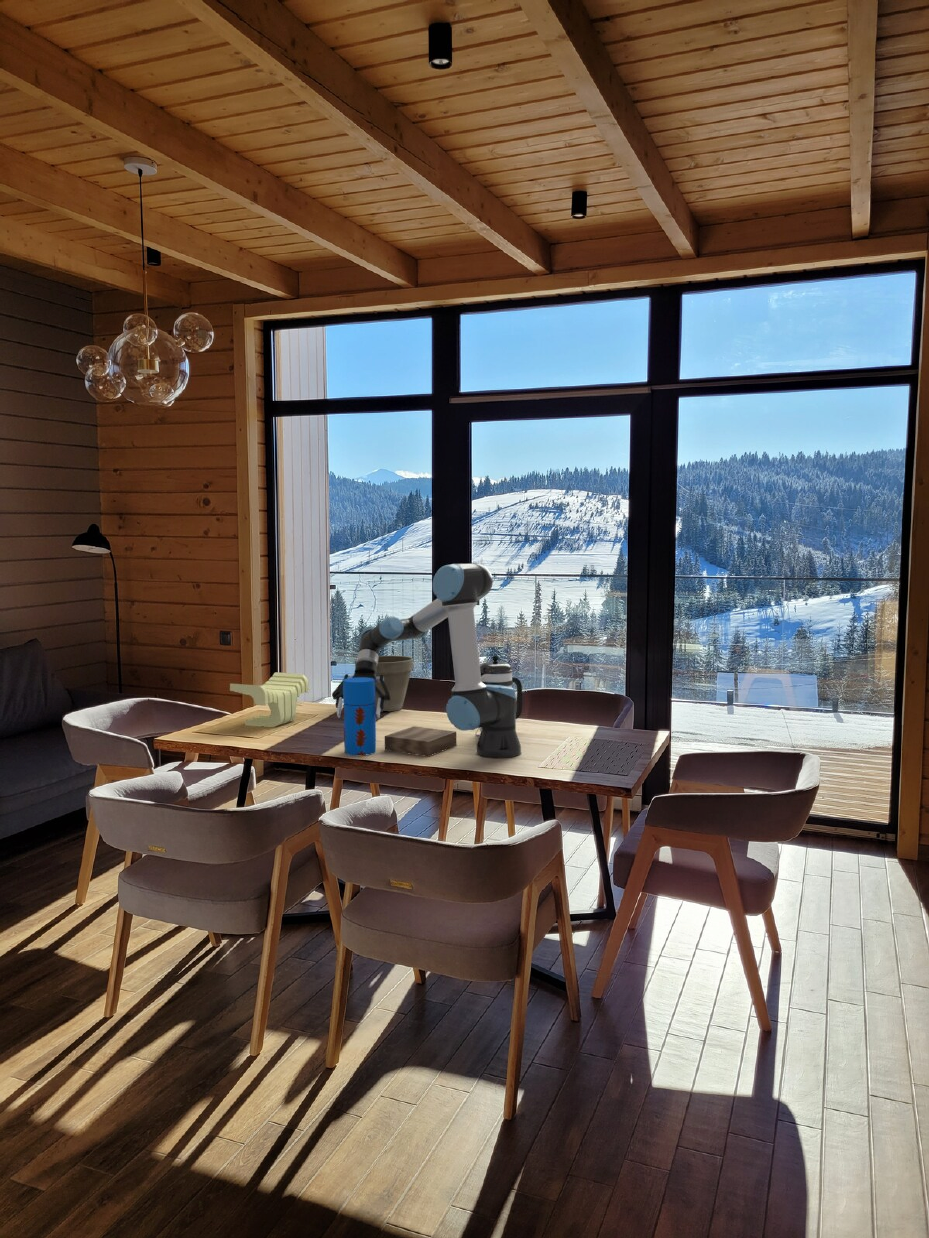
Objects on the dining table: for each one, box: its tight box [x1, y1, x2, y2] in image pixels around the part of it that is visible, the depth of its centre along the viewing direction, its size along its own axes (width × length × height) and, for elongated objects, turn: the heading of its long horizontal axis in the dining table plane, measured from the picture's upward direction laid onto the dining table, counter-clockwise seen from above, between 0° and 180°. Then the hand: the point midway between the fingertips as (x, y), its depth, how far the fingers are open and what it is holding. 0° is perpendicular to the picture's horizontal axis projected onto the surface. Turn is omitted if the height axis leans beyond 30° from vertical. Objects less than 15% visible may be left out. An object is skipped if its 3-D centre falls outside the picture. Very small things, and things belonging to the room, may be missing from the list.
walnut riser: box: [384, 726, 457, 757], centre depth 317 cm, size 18×18×5 cm
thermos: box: [342, 677, 377, 756], centre depth 311 cm, size 11×11×25 cm
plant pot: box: [354, 655, 414, 713], centre depth 388 cm, size 25×25×22 cm
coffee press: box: [475, 654, 523, 737], centre depth 335 cm, size 17×16×30 cm
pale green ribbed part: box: [229, 672, 310, 728], centre depth 360 cm, size 30×16×18 cm, turn 157°
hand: (357, 715), depth 310 cm, fingers open, 13 cm apart
